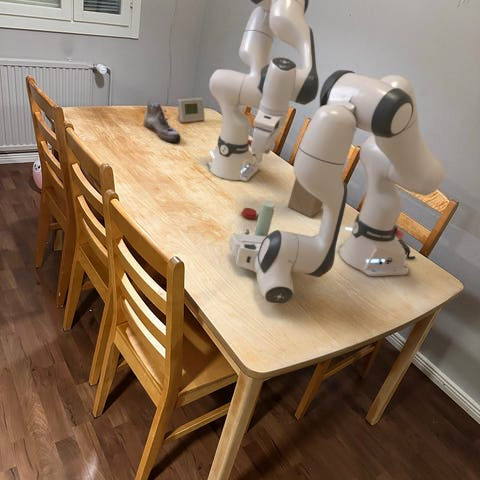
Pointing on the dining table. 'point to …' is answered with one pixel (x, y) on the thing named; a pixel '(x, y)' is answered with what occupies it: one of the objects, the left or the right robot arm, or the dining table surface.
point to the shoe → (160, 123)
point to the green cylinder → (264, 219)
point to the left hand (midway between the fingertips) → (262, 157)
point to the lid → (249, 213)
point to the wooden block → (304, 200)
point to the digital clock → (191, 110)
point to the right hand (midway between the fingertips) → (260, 232)
